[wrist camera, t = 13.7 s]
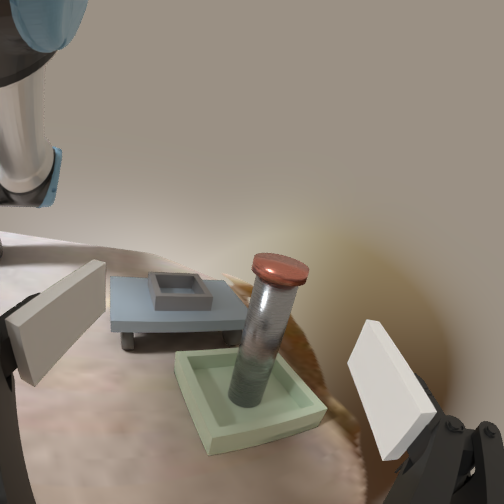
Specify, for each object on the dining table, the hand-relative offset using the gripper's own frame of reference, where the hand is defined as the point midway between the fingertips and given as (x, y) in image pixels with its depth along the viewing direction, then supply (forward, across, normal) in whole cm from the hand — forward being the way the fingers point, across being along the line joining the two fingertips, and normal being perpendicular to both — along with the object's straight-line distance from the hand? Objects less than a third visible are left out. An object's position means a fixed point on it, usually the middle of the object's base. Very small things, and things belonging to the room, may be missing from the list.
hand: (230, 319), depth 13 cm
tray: (+10, +3, -16) cm, 19 cm away
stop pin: (+10, +3, -15) cm, 19 cm away
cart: (+23, -8, -16) cm, 29 cm away
